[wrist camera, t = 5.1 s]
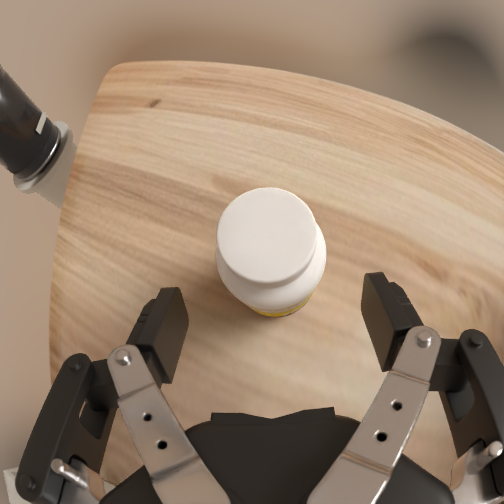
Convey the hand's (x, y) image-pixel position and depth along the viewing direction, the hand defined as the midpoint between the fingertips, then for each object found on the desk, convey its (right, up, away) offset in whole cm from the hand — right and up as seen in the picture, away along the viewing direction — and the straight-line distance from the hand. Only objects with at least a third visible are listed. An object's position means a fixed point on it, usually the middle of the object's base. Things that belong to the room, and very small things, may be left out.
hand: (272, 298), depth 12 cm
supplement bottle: (+1, 0, +8) cm, 8 cm away
